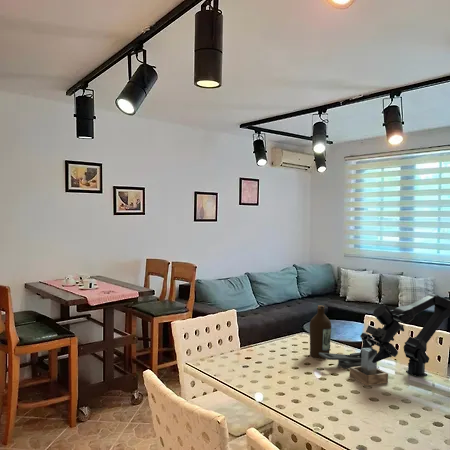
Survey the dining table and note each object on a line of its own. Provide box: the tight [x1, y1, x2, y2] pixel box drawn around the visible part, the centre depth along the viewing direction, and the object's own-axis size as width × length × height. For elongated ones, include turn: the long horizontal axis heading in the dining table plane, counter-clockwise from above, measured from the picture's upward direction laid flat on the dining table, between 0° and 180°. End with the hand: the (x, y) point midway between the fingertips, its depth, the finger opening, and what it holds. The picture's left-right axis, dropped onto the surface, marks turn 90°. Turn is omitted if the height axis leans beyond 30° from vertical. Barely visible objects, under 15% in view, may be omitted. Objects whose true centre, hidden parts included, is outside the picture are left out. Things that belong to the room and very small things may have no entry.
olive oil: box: [309, 304, 332, 360], centre depth 210 cm, size 11×11×25 cm
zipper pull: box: [319, 352, 361, 370], centre depth 196 cm, size 9×7×25 cm
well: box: [349, 366, 389, 386], centre depth 180 cm, size 11×11×4 cm
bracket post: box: [361, 347, 378, 375], centre depth 180 cm, size 7×7×12 cm
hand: (366, 359), depth 180 cm, fingers open, 8 cm apart
